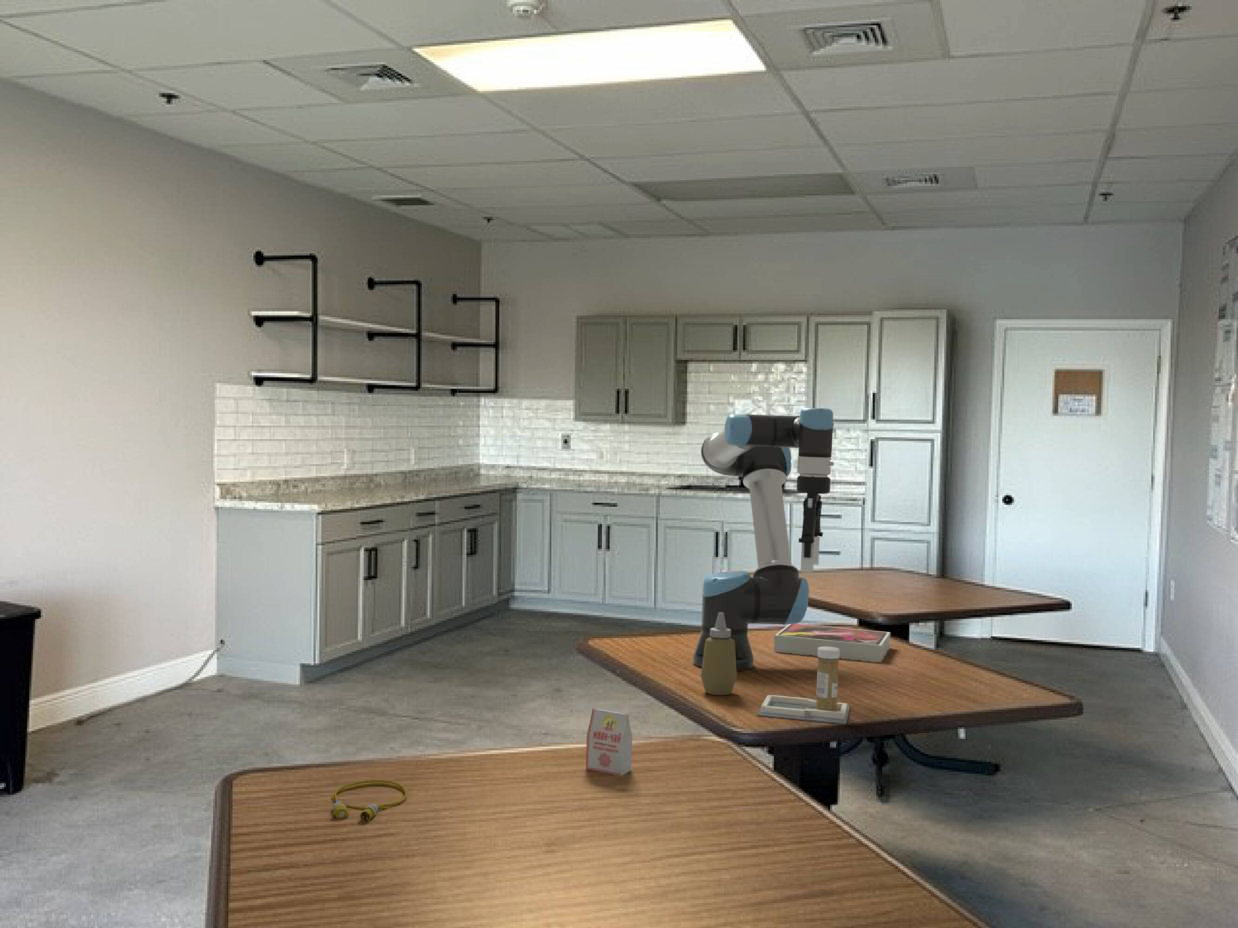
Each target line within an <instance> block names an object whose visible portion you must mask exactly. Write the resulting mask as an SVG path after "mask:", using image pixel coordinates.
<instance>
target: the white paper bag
mask: <svg viewBox="0 0 1238 928" xmlns="http://www.w3.org/2000/svg"><path fill="white" fill-rule="evenodd" d="M629 717H630V715H629V714H628V713H627V714H626V713H622V712H617V711H611V710H605V709H600V708H599V709H597V708H592V709H591V715H590V719H589V725H588V729H587V733H586V749H585V750H586V751H585V752H586V753H585V770H587V771H588V770H589V771H594V772H599V773H603V774H608V775H613V776H618V777H622V776H624V775H626V774H628V773H629V772H631V771H632V752H633V750H632V749H633V734H632V729H631V725H630V719H629Z"/></svg>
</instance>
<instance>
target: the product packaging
mask: <svg viewBox="0 0 1238 928" xmlns="http://www.w3.org/2000/svg"><path fill="white" fill-rule="evenodd" d="M773 646H774V647H773V653H780V652H782V654H789V653H792V654H791V655H801V656H809V655H813V656H812V657H818V656H817V652H818V648H819V647H823V646H828V647H835V648H838V649H839V650H840V657H839V658H841V660H848V659H850V661H857V660H861V661H860V662H867V661H870V662H869V663H877V662H881V661H883V660H884V658H885V657H886V655H887V653H888V652H889V651H890V649H891V647H890V646H891V632H890V631H881V630H880V631H879V630H868V629H858V628H845V627H837V626H823V625H814V624H813V625H812V624H803V623H797V624H786V625H785V627H784V628H782V629H781V630H779V631H778V632H777V633H776V634H775V635H774V644H773ZM889 648H890V649H889ZM887 651H888V652H887ZM884 656H885V657H884ZM881 663H882V662H881Z"/></svg>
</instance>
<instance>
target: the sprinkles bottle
mask: <svg viewBox="0 0 1238 928" xmlns="http://www.w3.org/2000/svg"><path fill="white" fill-rule="evenodd" d="M816 657H817V671H816V673H817V675H816V700H817V707H816V710H826V711H836V712H837V702H838V691H839V690H838V688H839V660H840V659H839V657H840V650H839V649H838V648H835V647H828V646H823V647H819V648H818V652H817V656H816Z"/></svg>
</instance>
